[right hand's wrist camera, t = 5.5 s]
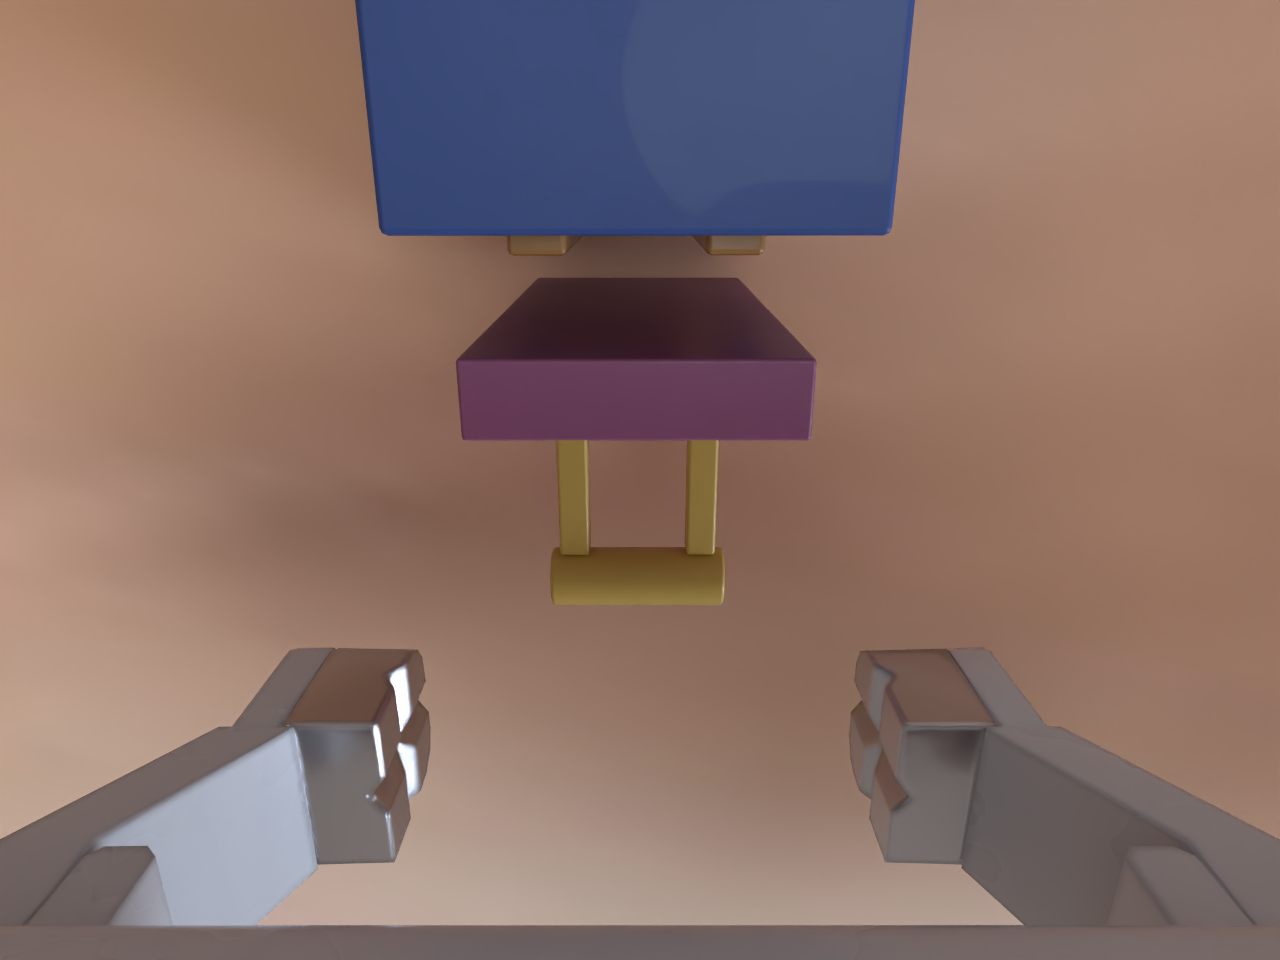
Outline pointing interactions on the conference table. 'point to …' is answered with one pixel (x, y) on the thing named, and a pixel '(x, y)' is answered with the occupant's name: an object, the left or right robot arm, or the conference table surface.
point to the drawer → (636, 402)
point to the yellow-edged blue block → (635, 115)
